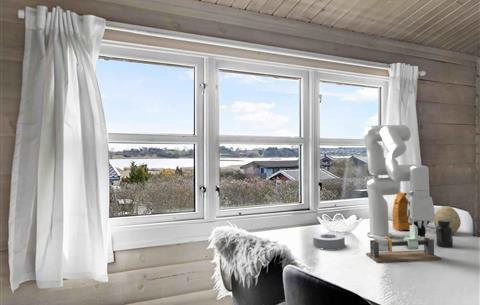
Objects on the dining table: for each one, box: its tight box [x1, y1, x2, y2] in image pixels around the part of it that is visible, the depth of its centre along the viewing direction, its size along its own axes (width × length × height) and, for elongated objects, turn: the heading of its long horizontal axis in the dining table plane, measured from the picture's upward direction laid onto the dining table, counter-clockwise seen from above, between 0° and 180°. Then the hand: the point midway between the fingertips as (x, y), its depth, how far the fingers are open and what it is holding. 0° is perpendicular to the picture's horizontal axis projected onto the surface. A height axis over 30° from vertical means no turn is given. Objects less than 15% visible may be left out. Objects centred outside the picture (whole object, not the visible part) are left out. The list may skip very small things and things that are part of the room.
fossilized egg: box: [433, 205, 462, 234], centre depth 198 cm, size 13×13×15 cm
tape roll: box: [312, 232, 346, 250], centre depth 182 cm, size 15×15×5 cm
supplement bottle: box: [435, 220, 454, 248], centre depth 174 cm, size 7×7×12 cm
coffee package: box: [392, 191, 413, 232], centre depth 214 cm, size 10×12×22 cm
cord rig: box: [365, 237, 442, 264], centre depth 158 cm, size 12×27×9 cm, turn 92°
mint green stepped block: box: [403, 224, 419, 251], centre depth 158 cm, size 4×4×9 cm
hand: (421, 236), depth 158 cm, fingers closed
